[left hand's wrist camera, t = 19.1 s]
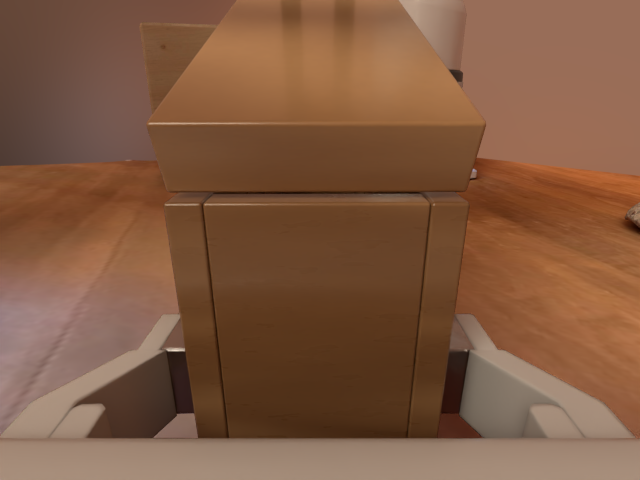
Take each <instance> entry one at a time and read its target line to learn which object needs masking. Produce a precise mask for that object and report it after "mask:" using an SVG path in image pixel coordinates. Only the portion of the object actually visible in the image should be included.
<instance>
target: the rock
mask: <svg viewBox="0 0 640 480" xmlns="http://www.w3.org/2000/svg"><path fill="white" fill-rule="evenodd" d="M625 220H629V221H632V222H634V223H635V224H636V225H637V226H638V227H639V228H640V203H638V204H636V205H635V206H633V207H632V208H631V209H630V210H628V212H627V214H626V216H625Z"/></svg>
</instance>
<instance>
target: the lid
mask: <svg viewBox="0 0 640 480" xmlns="http://www.w3.org/2000/svg"><path fill="white" fill-rule="evenodd" d="M146 126H147V129H148V133H149V136H150V139H151V142H152V145H153V148H154V152H155V155H156V158H157V161H158V164H159V168H160V171H161V174H162V177H163V180H164V184H165V187H166V190H167V191H168V192H464V191H466V190H467V187H468V184H469V181H470V177H471V174H472V171H473V167H474V164H475V161H476V157H477V154H478V150H479V147H480V144H481V140H482V137H483V134H484V130H485V127H486V121H485V120H484V119H483V117H482V116H481V114H480V113H479V111H478V110H477V109H476V107H475V106H474V105H473V103H472V102H471V100H470V99H469V98H468V96H467V95H466V93H465V92H464V91H463V89H462V88H461V86H460V85H459V84H458V82H457V81H456V79H455V78H454V77H453V75H452V74H451V72H450V71H449V70H448V68H447V67H446V65H445V64H444V63H443V61H442V60H441V58H440V57H439V56H438V54H437V53H436V52H435V50H434V49H433V47H432V46H431V45H430V43H429V42H428V40H427V39H426V38H425V36H424V35H423V33H422V32H421V31H420V29H419V28H418V26H417V25H416V24H415V22H414V21H413V19H412V18H411V17H410V15H409V14H408V12H407V11H406V10H405V8H404V7H403V5H402V4H401V3H400V1H399V0H237V1H236V2H235V3H234V5H233V6H232V7H231V9H230V10H229V11H228V13H227V14H226V15H225V17H224V18H223V20H222V21H221V22H220V24H219V25H218V26H217V28H216V29H215V30H214V32H213V33H212V34H211V36H210V37H209V38H208V40H207V41H206V43H205V44H204V45H203V47H202V48H201V49H200V51H199V52H198V53H197V55H196V56H195V57H194V59H193V60H192V61H191V63H190V64H189V66H188V67H187V68H186V70H185V71H184V72H183V74H182V75H181V76H180V78H179V79H178V80H177V82H176V83H175V84H174V86H173V87H172V89H171V90H170V91H169V93H168V94H167V95H166V97H165V98H164V99H163V101H162V102H161V103H160V105H159V106H158V107H157V109H156V110H155V112H154V113H153V114H152V116H151V117H150V118H149V120H148V121H147V125H146Z"/></svg>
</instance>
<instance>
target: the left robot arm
mask: <svg viewBox="0 0 640 480" xmlns="http://www.w3.org/2000/svg"><path fill="white" fill-rule="evenodd" d="M185 413H194V407H193V400H192V393H191V387H190V380H189V373H188V366H187V360H186V353H185V346H184V340H183V333H182V326H181V319H180V314H164V315H162V316H161V317H160V319H159V320H158V322H157V323H156V324H155V326H154V327H153V329H152V330H151V331H150V333H149V334H148V336H147V337H146V338H145V340H144V341H143V343H142V344H141V345H140V347H139V348H138V350H130V351H128V352H126V353H124V354H123V355H121V356H119V357H117V358H115V359H113V360H111V361H109V362H107V363H105V364H103V365H101V366H100V367H98V368H96V369H94V370H92V371H90V372H88V373H86V374H84V375H82V376H80V377H78V378H77V379H75V380H73V381H71V382H69V383H67V384H65V385H63V386H61V387H59V388H57V389H55V390H54V391H52V392H50V393H48V394H46V395H44V396H42V397H40V398H38V399H36V400H34V401H32V402H31V403H30V404H29V405H28V406H27V407H26V408H25V409H24V410H23V412H22V413H21V414H20V415H19V416H18V417H17V418H16V419H15V420H14V421H13V422H12V423H11V424H10V425H9V427H8V428H7V429H6V430H5V431H4V432H3V433H2V434H1V435H0V480H640V438H636V437H635V436H634V435H633V434H632V433H631V432H630V431H629V429H628V428H627V427H626V426H625V425H624V424H623V423H622V422H621V421H620V420H619V418H618V417H617V416H616V415H615V414H614V413H613V412H612V411H611V410H610V409H609V407H608V406H607V405H606V404H605V403H604V402H602V401H600V400H598V399H596V398H594V397H592V396H591V395H589V394H587V393H585V392H583V391H581V390H579V389H577V388H575V387H574V386H572V385H570V384H568V383H566V382H564V381H562V380H560V379H558V378H556V377H555V376H553V375H551V374H549V373H547V372H545V371H543V370H541V369H539V368H538V367H536V366H534V365H532V364H530V363H528V362H526V361H524V360H522V359H521V358H519V357H517V356H515V355H513V354H511V353H509V352H507V351H505V350H498V349H497V347H496V346H495V344H494V343H493V342H492V340H491V339H490V337H489V336H488V335H487V333H486V332H485V330H484V329H483V327H482V326H481V325H480V323H479V322H478V320H477V319H476V317H475V316H474V315H473V314H471V313H470V314H454V321H453V328H452V335H451V342H450V350H449V357H448V364H447V371H446V378H445V385H444V393H443V400H442V407H441V413H450V414H459V416H460V417H461V418H462V419H464V420H465V421H466V422H467V423H468V424H469V425H470V426H471V427H472V428H473V429H474V430H475V431H476V432H477V433H479V434H480V435H481V436H482V437H483V438H153V437H154V436H155V435H156V434H157V433H158V432H160V431H161V430H162V429H163V428H164V427H165V426H166V425H167V424H168V423H169V422H170V421H172V420H173V419H174V418H175V417H176V416H177V414H185Z"/></svg>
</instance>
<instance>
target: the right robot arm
mask: <svg viewBox="0 0 640 480" xmlns="http://www.w3.org/2000/svg"><path fill="white" fill-rule="evenodd" d="M399 1H400V3H401V4H402V5H403V7H404V8H405V10H406V11H407V12H408V14H409V15H410V17H411V18H412V19H413V21H414V22H415V24H416V25H417V26H418V28H419V29H420V31H421V32H422V33H423V35H424V36H425V38H426V39H427V40H428V42H429V43H430V45H431V46H432V47H433V49H434V50H435V52H436V53H437V54H438V56H439V57H440V58H441V60H442V61H443V63H444V64H445V65H446V67H447V68H448V70H449V71H450V72H451V74H452V75H453V77H454V78H455V79H456V81H457V82H458V84H459V85H460V86H461V88H462V87H463V82H462V79H463V73H462V72H461V71H460V67H461V59H462V50H463V41H464V32H465V24H466V9H465V5H464V2H463V0H399ZM476 177H477V171H476V170H475V169H474V168H473V171H472V174H471V177H470V178H476Z"/></svg>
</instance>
